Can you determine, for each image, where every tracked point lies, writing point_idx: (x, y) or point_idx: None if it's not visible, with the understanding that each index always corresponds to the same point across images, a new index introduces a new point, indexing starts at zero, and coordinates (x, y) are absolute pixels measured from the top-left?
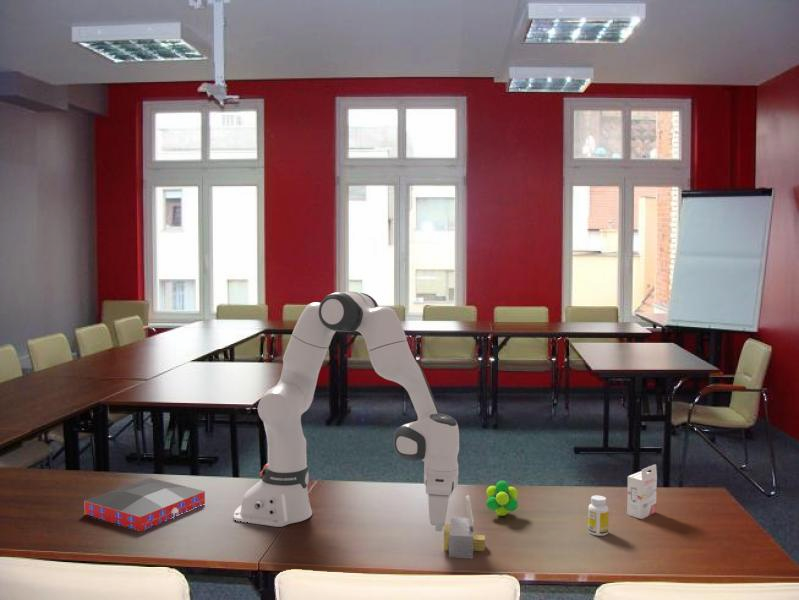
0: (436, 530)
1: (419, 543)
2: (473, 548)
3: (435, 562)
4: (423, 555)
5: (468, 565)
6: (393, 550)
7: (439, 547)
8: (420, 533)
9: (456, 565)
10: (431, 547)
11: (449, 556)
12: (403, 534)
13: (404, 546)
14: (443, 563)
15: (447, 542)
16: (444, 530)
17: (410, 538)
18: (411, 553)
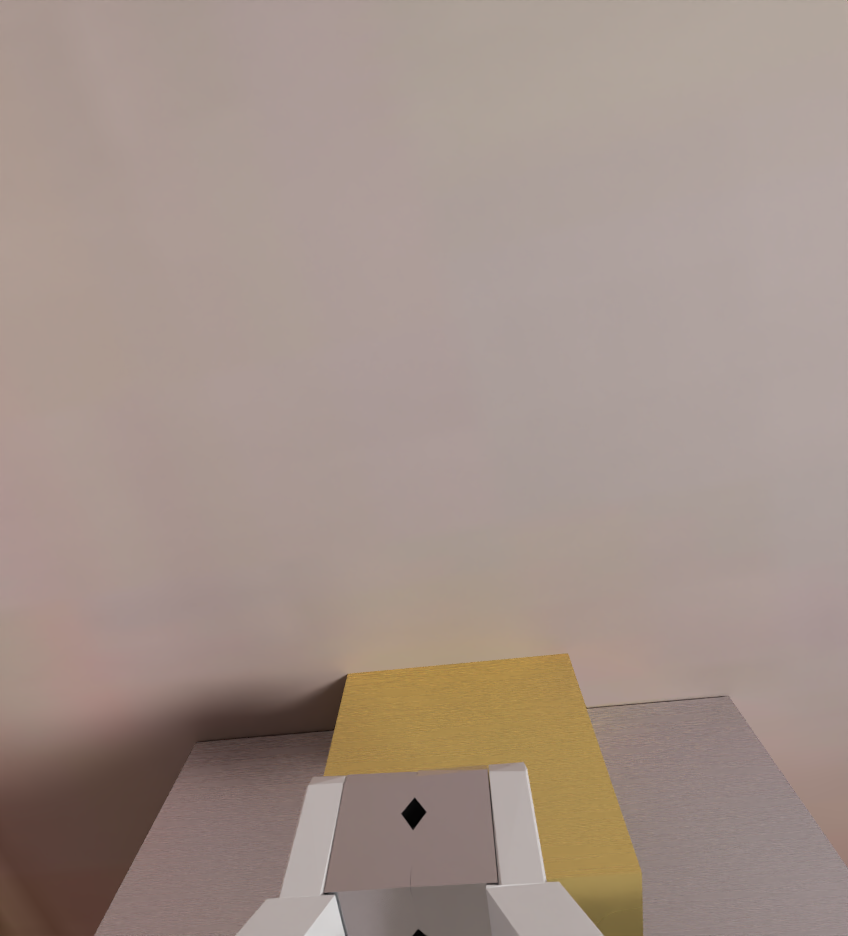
0: (310, 787)
1: (469, 366)
2: None
3: (21, 642)
4: (131, 490)
5: (104, 898)
6: (106, 21)
7: (413, 621)
8: (833, 302)
9: (55, 818)
10: (387, 537)
11: (194, 753)
12: (773, 15)
13: (307, 168)
14: (38, 714)
15: None
16: None
17: (621, 188)
18: (123, 331)
